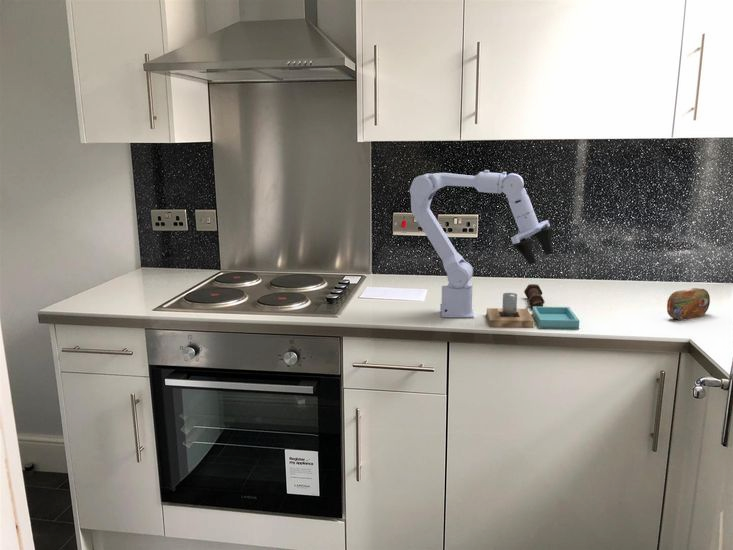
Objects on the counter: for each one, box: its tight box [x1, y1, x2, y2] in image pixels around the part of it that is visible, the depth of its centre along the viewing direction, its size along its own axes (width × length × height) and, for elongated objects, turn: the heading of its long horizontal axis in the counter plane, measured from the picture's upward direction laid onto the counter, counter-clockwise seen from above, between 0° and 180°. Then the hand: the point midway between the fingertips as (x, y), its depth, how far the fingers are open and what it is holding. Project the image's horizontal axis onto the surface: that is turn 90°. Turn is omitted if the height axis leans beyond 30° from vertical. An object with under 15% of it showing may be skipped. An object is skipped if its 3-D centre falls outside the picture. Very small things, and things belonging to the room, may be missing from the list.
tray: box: [531, 306, 580, 330], centre depth 180 cm, size 11×14×2 cm
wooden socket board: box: [486, 307, 534, 329], centre depth 181 cm, size 12×12×2 cm
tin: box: [666, 287, 711, 321], centre depth 181 cm, size 15×3×8 cm, turn 114°
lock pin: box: [502, 292, 518, 317], centre depth 181 cm, size 4×4×8 cm
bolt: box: [523, 283, 546, 308], centre depth 198 cm, size 6×5×15 cm
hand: (541, 258), depth 178 cm, fingers open, 7 cm apart
